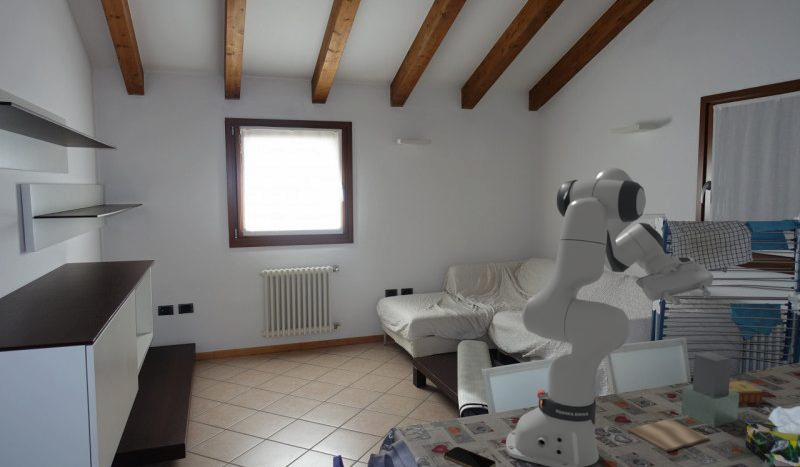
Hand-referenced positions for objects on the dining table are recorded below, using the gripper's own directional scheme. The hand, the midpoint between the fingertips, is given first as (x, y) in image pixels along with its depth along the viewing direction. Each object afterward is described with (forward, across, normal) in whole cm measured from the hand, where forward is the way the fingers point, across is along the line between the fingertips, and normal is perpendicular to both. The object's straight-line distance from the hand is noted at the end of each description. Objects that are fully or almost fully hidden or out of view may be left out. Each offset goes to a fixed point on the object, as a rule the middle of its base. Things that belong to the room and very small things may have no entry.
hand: (693, 299), depth 152 cm
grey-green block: (+19, -4, +28) cm, 34 cm away
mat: (+26, -22, +20) cm, 39 cm away
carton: (+10, +11, +38) cm, 40 cm away
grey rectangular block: (+16, -2, +21) cm, 26 cm away
